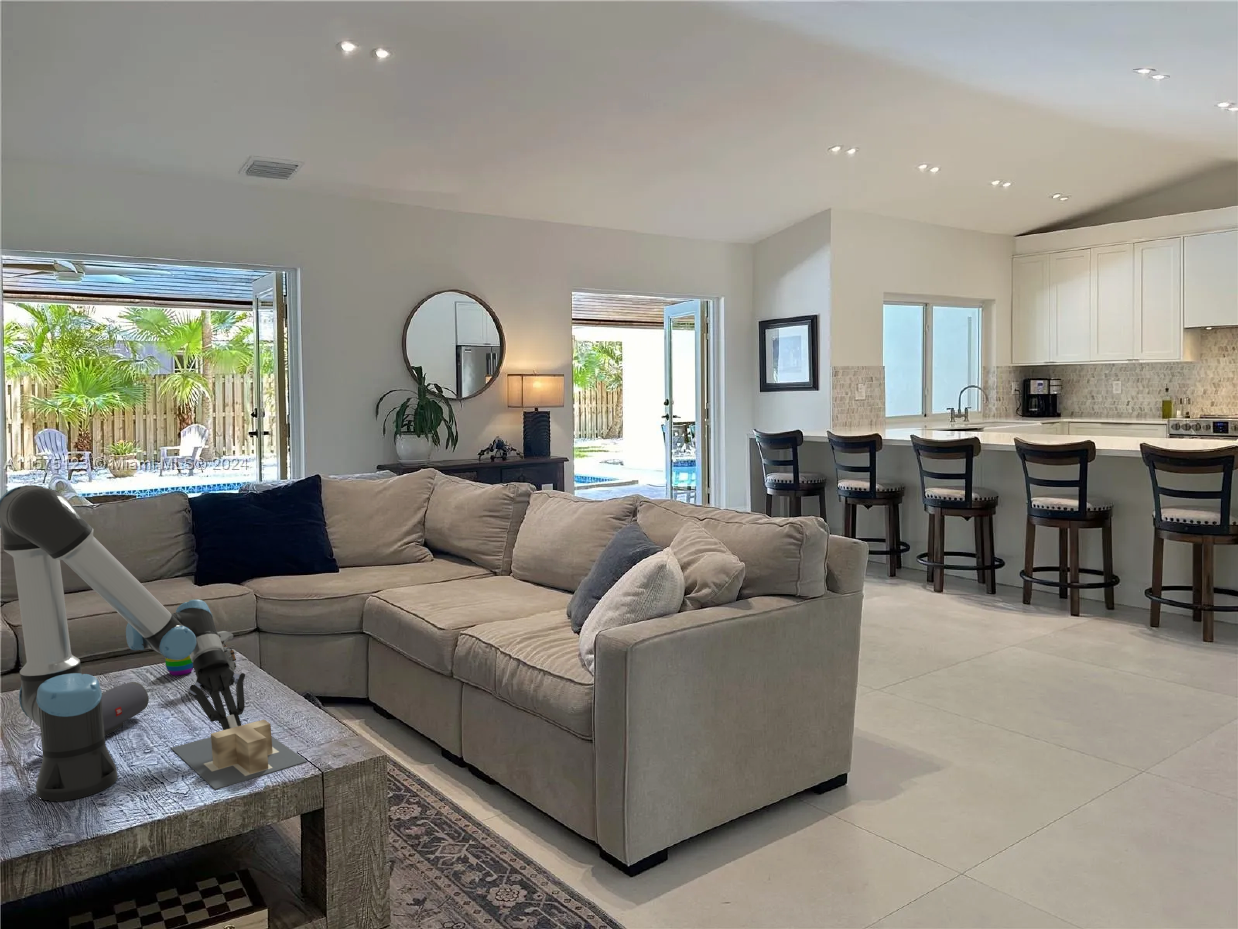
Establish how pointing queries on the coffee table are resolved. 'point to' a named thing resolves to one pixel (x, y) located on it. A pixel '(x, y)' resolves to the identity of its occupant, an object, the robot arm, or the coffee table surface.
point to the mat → (202, 763)
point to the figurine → (229, 653)
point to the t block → (243, 746)
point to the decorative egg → (179, 666)
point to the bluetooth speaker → (122, 705)
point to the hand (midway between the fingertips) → (237, 742)
